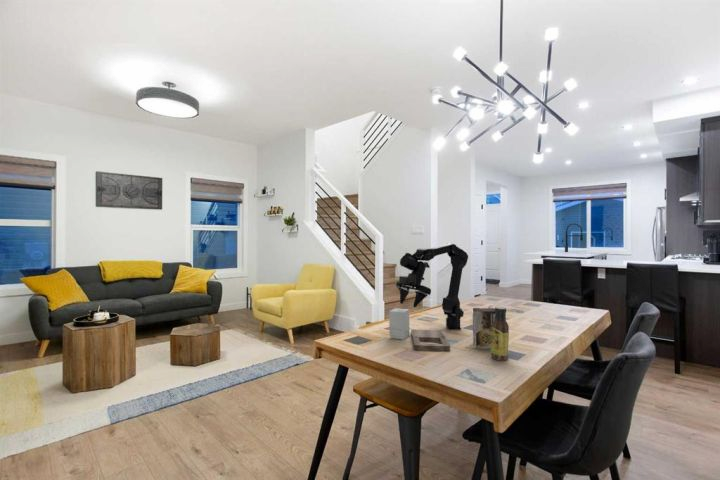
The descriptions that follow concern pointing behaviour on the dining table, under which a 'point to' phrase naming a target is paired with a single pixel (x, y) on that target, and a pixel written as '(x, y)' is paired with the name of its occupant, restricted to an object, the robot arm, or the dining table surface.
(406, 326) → the supplement box
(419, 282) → the robot arm
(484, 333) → the coffee box
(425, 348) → the cutout board
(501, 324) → the sauce bottle
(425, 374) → the dining table surface
